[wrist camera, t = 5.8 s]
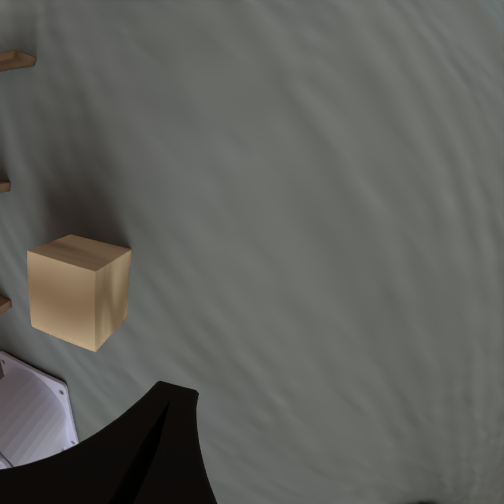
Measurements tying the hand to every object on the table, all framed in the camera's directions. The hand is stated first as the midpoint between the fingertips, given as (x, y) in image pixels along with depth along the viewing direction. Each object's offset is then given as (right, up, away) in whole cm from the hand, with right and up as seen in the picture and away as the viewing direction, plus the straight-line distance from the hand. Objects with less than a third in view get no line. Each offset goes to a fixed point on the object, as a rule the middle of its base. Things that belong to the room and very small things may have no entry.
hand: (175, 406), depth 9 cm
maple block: (-7, +4, +8) cm, 12 cm away
